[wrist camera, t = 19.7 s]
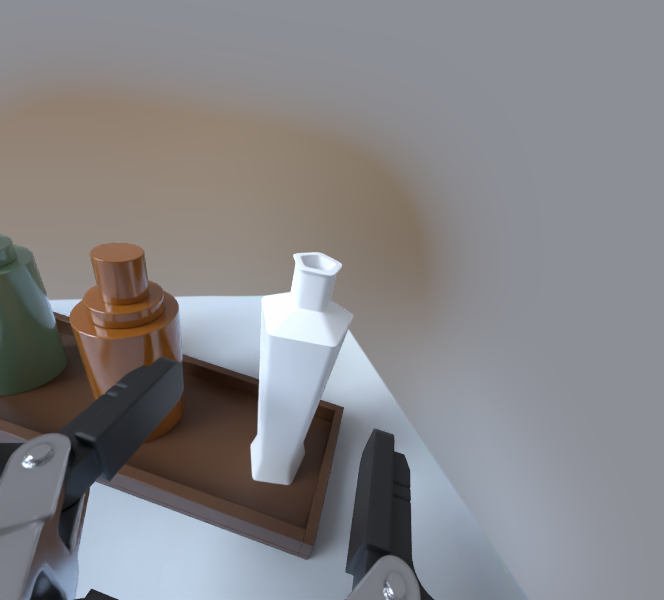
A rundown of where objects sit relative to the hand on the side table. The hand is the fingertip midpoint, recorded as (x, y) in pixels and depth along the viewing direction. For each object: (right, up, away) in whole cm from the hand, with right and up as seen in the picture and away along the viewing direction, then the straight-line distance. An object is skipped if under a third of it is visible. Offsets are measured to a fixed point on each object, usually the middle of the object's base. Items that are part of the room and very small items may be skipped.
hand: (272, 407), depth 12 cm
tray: (-11, -4, +10) cm, 15 cm away
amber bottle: (-11, -4, +9) cm, 15 cm away
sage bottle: (-20, -1, +10) cm, 23 cm away
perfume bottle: (-1, -7, +9) cm, 11 cm away
